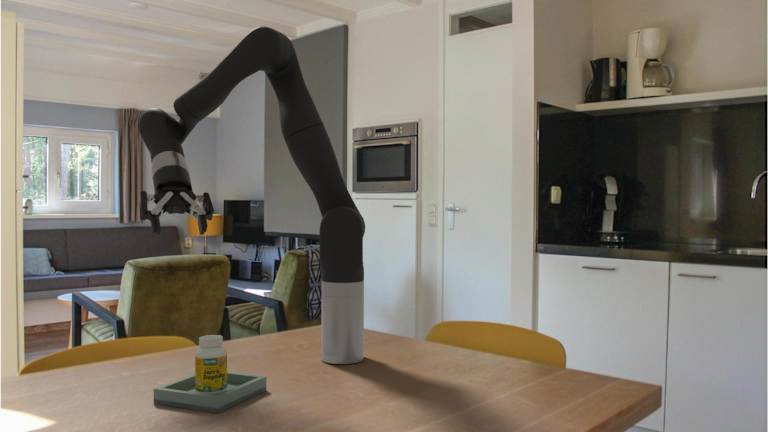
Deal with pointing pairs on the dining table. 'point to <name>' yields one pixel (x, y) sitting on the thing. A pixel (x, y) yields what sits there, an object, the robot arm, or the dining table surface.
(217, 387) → the supplement bottle
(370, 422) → the dining table surface
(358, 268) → the robot arm
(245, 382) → the tray
